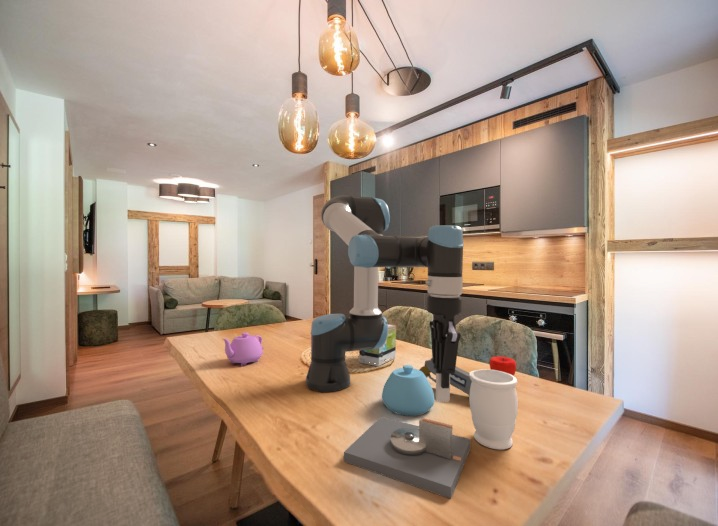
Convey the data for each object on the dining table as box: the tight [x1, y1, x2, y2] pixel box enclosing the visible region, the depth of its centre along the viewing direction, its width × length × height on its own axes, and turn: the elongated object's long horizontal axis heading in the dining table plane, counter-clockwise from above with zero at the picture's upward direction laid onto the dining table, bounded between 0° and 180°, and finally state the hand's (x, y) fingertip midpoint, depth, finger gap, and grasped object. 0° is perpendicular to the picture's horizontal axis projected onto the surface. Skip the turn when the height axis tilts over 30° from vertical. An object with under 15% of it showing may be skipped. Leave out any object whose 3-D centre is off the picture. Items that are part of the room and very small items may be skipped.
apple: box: [489, 356, 517, 376], centre depth 115 cm, size 9×9×8 cm
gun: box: [419, 357, 472, 397], centre depth 105 cm, size 3×25×15 cm, turn 47°
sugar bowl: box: [381, 364, 435, 417], centre depth 95 cm, size 15×15×12 cm
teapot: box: [222, 332, 264, 367], centre depth 136 cm, size 20×14×12 cm
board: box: [343, 416, 471, 499], centre depth 70 cm, size 22×18×2 cm
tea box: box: [358, 323, 397, 367], centre depth 139 cm, size 15×10×15 cm, turn 147°
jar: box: [468, 368, 519, 451], centre depth 76 cm, size 11×10×15 cm
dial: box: [391, 417, 453, 459], centre depth 69 cm, size 13×8×6 cm, turn 59°
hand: (442, 400), depth 73 cm, fingers closed
